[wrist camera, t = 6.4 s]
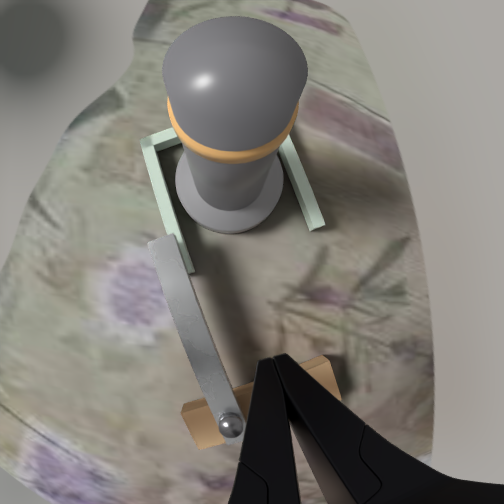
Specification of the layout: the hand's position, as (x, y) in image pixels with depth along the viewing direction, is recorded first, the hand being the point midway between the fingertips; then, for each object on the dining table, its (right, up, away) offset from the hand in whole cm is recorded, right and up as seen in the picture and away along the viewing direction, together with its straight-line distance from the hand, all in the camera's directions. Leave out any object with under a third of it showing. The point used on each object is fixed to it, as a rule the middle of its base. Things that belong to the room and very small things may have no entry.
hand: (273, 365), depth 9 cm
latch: (-4, -2, +9) cm, 10 cm away
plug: (-2, +8, +12) cm, 15 cm away
